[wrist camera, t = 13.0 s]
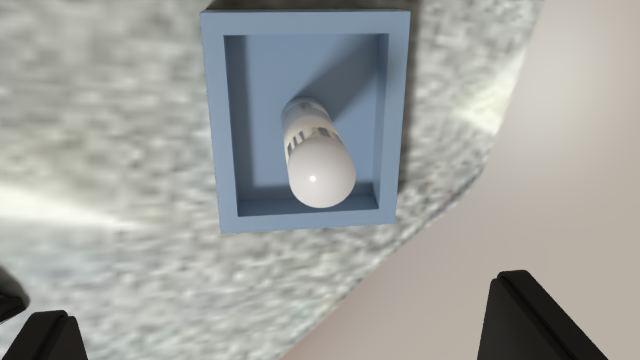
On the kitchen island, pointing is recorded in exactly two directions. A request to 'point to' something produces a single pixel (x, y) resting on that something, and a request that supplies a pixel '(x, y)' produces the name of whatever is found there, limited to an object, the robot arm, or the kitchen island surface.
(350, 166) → the white rounded cylinder piece
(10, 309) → the electric trimmer
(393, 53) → the parts tray
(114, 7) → the kitchen island surface
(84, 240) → the kitchen island surface
